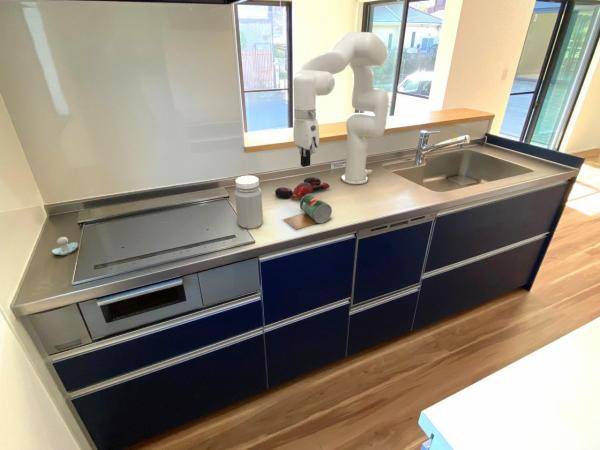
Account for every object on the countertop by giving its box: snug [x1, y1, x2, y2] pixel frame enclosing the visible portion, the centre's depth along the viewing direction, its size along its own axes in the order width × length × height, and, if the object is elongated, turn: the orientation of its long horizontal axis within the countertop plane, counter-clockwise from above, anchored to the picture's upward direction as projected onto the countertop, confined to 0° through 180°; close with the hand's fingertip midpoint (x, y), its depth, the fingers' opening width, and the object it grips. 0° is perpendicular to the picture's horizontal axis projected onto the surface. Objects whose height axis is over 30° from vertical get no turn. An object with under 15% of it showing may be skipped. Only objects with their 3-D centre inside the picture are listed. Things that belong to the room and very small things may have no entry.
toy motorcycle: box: [274, 176, 330, 200], centre depth 154 cm, size 25×5×16 cm
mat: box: [283, 212, 332, 231], centre depth 134 cm, size 16×9×1 cm, turn 123°
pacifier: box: [51, 236, 79, 256], centre depth 113 cm, size 7×6×6 cm
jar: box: [234, 174, 264, 230], centre depth 127 cm, size 10×10×18 cm
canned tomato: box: [299, 193, 333, 224], centre depth 133 cm, size 8×8×11 cm
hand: (305, 165), depth 125 cm, fingers closed
